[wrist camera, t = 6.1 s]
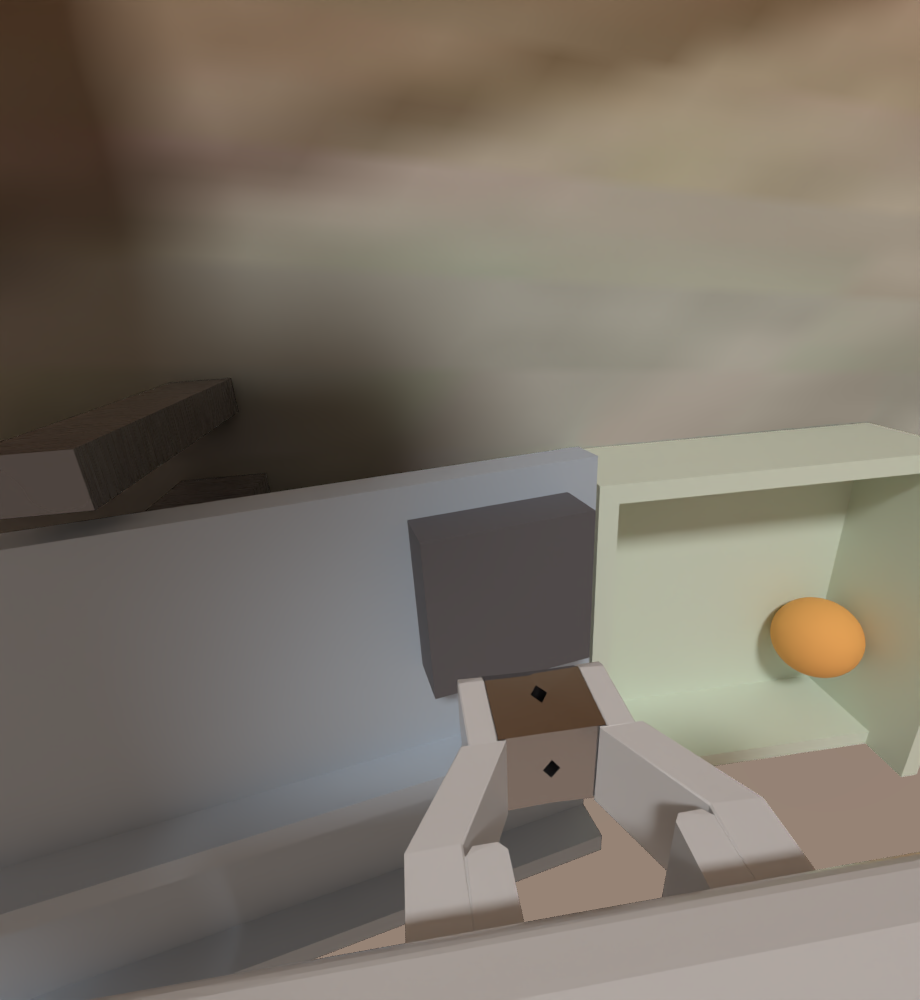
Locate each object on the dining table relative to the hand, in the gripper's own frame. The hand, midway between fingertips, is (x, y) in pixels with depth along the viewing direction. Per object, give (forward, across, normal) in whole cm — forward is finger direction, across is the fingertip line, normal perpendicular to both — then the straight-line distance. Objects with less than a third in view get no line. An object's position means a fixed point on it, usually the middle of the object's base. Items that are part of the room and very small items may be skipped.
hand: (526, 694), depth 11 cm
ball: (+11, -18, +10) cm, 23 cm away
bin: (+14, -13, +7) cm, 20 cm away
